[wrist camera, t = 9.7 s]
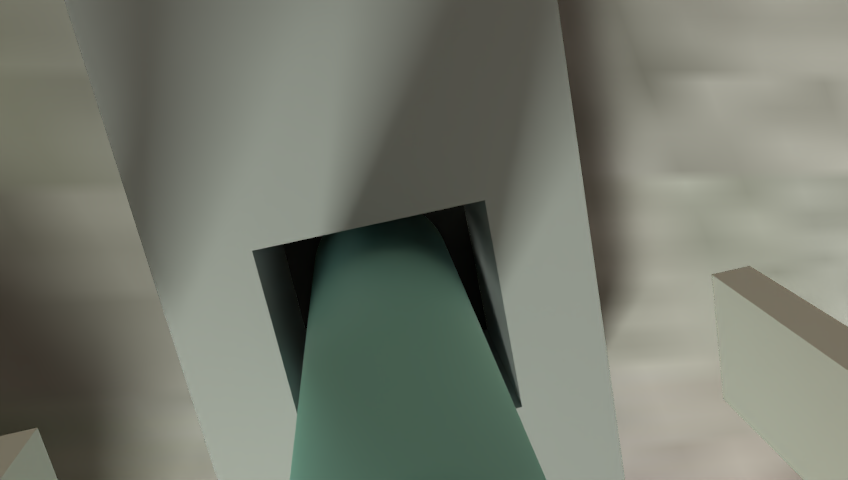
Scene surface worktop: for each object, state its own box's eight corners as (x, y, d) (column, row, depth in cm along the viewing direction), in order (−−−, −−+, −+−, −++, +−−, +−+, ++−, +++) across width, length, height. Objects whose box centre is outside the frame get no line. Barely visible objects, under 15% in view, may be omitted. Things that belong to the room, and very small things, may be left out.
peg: (331, 342, 24) (316, 761, 11) (300, 217, 23) (238, 514, 10) (459, 313, 24) (603, 691, 11) (434, 188, 23) (560, 440, 10)
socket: (268, 475, 25) (251, 585, 20) (112, -51, 20) (42, -69, 16) (573, 406, 25) (627, 498, 21) (490, -127, 21) (533, -168, 16)
